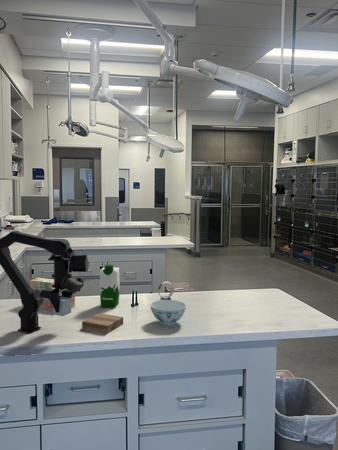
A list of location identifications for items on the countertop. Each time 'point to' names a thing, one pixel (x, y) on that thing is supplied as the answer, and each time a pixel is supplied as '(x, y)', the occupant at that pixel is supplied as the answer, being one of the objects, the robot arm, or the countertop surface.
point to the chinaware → (168, 311)
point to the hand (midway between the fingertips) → (62, 310)
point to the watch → (162, 289)
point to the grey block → (63, 307)
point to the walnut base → (102, 323)
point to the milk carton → (109, 286)
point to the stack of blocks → (43, 284)
